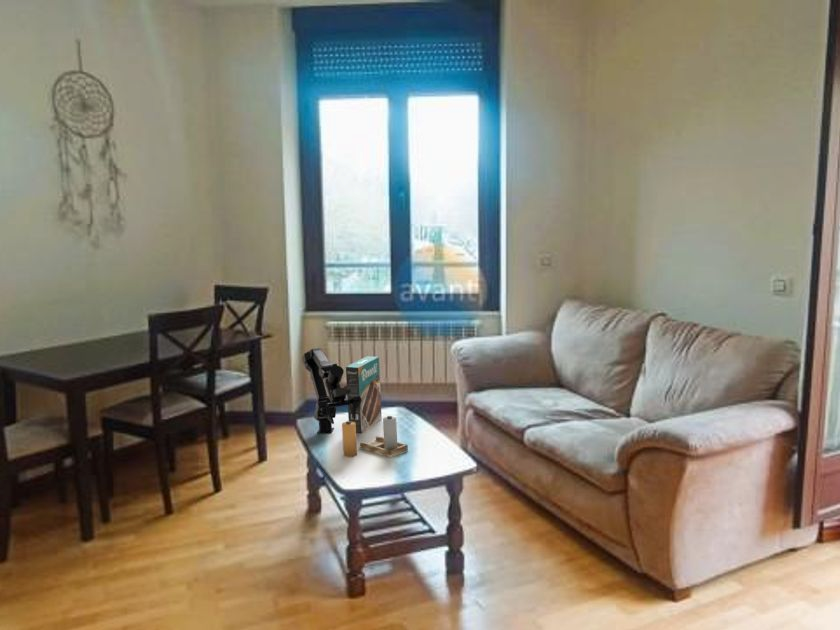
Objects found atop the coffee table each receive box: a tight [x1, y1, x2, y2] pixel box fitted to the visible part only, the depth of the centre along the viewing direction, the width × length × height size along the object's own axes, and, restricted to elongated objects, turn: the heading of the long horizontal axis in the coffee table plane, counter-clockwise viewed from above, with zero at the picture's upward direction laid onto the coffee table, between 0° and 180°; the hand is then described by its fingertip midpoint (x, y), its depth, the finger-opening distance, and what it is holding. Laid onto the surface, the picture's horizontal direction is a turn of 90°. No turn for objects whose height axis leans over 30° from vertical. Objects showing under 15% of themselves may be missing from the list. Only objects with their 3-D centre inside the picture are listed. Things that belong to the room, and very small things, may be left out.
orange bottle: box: [341, 420, 358, 458], centre depth 275 cm, size 5×5×14 cm
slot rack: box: [359, 435, 409, 459], centre depth 280 cm, size 18×10×2 cm, turn 47°
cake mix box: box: [345, 355, 383, 435], centre depth 310 cm, size 22×6×30 cm, turn 159°
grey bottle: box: [382, 415, 398, 450], centre depth 276 cm, size 5×5×14 cm
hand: (344, 421), depth 279 cm, fingers open, 9 cm apart
